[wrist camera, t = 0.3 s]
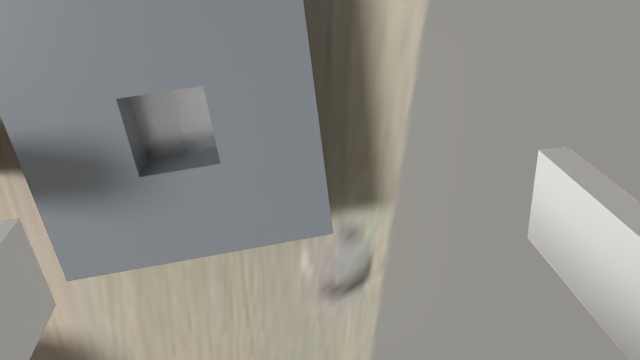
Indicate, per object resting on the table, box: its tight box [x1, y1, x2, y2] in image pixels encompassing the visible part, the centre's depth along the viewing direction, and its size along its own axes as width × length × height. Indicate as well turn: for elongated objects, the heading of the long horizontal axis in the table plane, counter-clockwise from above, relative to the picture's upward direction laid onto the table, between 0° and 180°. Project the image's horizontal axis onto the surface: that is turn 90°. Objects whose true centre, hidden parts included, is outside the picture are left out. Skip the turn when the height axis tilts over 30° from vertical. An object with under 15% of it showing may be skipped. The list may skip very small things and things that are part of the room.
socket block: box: [0, 0, 333, 281], centre depth 37 cm, size 20×20×5 cm
